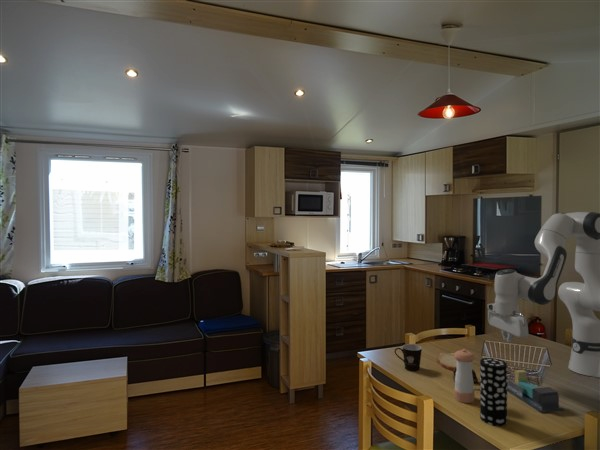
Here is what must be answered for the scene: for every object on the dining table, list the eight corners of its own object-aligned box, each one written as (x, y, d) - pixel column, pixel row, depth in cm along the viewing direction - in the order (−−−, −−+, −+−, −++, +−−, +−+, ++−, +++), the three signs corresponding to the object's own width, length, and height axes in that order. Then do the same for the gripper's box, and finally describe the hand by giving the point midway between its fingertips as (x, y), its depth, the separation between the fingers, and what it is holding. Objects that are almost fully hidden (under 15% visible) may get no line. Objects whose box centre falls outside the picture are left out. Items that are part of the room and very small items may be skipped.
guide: (516, 382, 166) (516, 367, 166) (563, 410, 142) (563, 393, 142) (497, 384, 164) (497, 369, 164) (541, 412, 141) (541, 395, 141)
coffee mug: (425, 369, 181) (425, 347, 181) (414, 373, 176) (413, 351, 176) (405, 361, 191) (405, 341, 190) (393, 366, 186) (393, 345, 185)
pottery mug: (483, 388, 162) (476, 372, 161) (461, 396, 164) (454, 381, 162) (472, 369, 174) (465, 355, 172) (452, 377, 176) (445, 363, 174)
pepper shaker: (455, 393, 157) (455, 345, 157) (475, 397, 153) (475, 348, 153) (452, 400, 151) (452, 350, 150) (473, 405, 147) (473, 353, 147)
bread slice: (457, 374, 177) (457, 365, 176) (424, 361, 192) (424, 354, 191) (480, 365, 186) (480, 357, 186) (447, 354, 201) (447, 347, 201)
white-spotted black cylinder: (503, 428, 131) (503, 368, 130) (477, 420, 136) (477, 363, 136) (509, 418, 137) (509, 361, 136) (484, 411, 142) (484, 356, 142)
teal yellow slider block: (522, 387, 158) (522, 369, 158) (552, 404, 144) (552, 385, 144) (514, 387, 158) (514, 370, 158) (543, 405, 143) (543, 386, 143)
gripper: (532, 314, 155) (533, 349, 155) (497, 302, 175) (498, 333, 175) (517, 315, 154) (518, 350, 154) (484, 303, 174) (485, 335, 174)
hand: (507, 341), depth 165 cm, fingers closed
